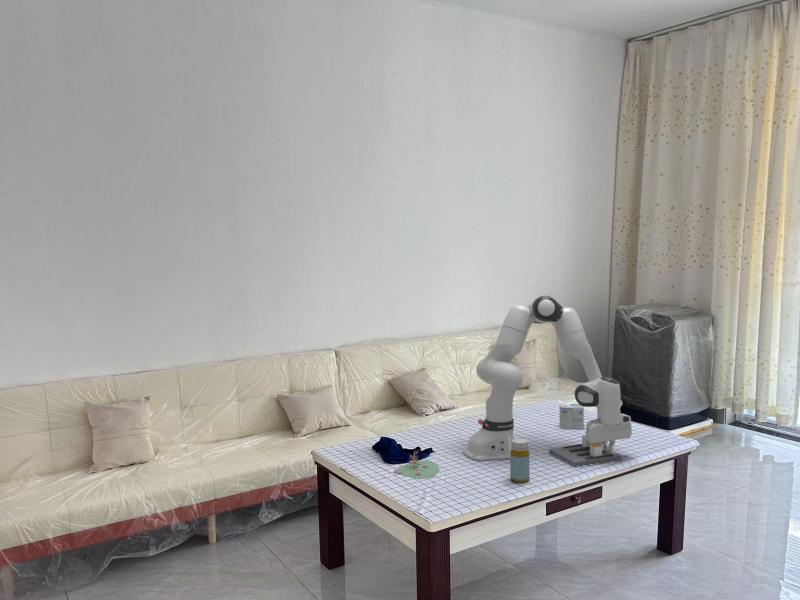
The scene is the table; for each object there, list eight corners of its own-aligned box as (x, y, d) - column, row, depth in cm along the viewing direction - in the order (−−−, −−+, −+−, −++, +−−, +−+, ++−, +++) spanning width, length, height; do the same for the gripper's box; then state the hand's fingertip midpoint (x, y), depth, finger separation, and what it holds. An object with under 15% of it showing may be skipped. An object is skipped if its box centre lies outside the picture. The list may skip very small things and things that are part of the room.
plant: (392, 488, 232) (391, 464, 231) (367, 471, 250) (366, 448, 249) (448, 474, 244) (448, 451, 243) (421, 459, 262) (420, 437, 261)
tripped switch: (594, 457, 252) (594, 446, 252) (589, 454, 255) (590, 444, 255) (602, 456, 254) (602, 445, 253) (597, 453, 256) (597, 443, 256)
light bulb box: (581, 425, 303) (581, 403, 302) (584, 429, 296) (584, 407, 295) (558, 425, 304) (558, 403, 303) (561, 429, 297) (561, 406, 296)
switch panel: (574, 467, 247) (574, 451, 247) (549, 453, 264) (549, 438, 264) (621, 460, 254) (621, 444, 254) (593, 446, 271) (593, 432, 271)
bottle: (506, 479, 236) (506, 440, 235) (517, 474, 241) (517, 436, 239) (522, 484, 231) (522, 444, 230) (533, 479, 236) (533, 440, 234)
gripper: (591, 422, 249) (591, 456, 250) (634, 416, 255) (633, 450, 257) (582, 418, 255) (581, 451, 256) (624, 412, 261) (623, 445, 262)
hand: (608, 450), depth 256 cm, fingers closed
